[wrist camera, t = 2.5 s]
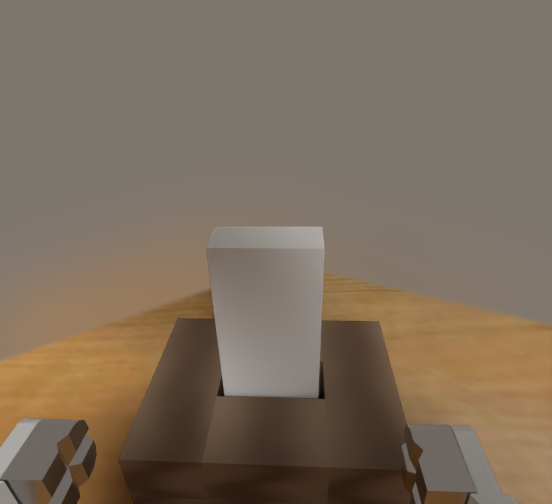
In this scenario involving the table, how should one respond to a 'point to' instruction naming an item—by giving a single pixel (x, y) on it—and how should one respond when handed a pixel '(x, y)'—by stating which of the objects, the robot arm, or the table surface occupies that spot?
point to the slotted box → (269, 428)
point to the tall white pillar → (268, 309)
